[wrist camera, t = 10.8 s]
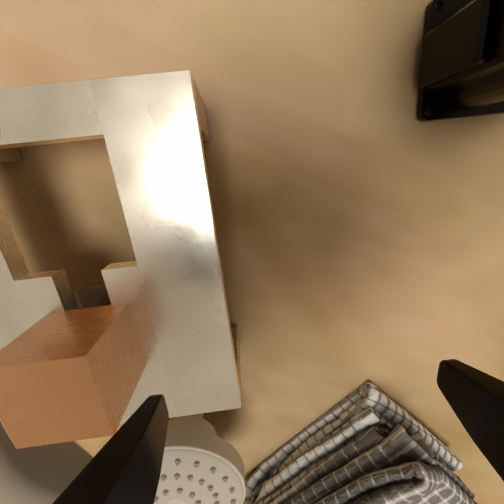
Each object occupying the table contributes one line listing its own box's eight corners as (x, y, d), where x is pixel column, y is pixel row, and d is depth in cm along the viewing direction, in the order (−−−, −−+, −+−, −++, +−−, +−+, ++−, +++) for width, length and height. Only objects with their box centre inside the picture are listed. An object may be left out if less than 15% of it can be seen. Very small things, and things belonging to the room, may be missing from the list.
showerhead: (222, 569, 19) (81, 546, 17) (225, 461, 26) (125, 437, 24) (278, 485, 16) (122, 449, 15) (265, 392, 23) (158, 359, 21)
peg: (149, 276, 17) (85, 356, 9) (162, 329, 18) (114, 435, 11) (87, 283, 16) (-27, 370, 9) (104, 336, 18) (16, 449, 10)
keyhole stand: (205, 106, 16) (189, 69, 10) (239, 345, 22) (241, 408, 16) (-24, 129, 16) (-173, 105, 10) (71, 367, 21) (10, 440, 15)
